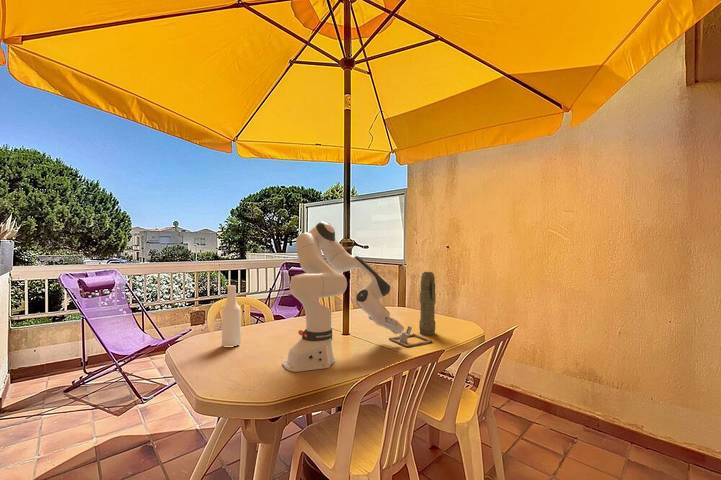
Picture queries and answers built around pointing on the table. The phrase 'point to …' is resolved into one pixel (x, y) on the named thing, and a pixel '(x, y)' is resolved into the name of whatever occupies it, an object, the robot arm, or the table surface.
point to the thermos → (427, 304)
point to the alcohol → (231, 319)
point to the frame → (426, 341)
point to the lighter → (405, 335)
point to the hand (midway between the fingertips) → (396, 332)
